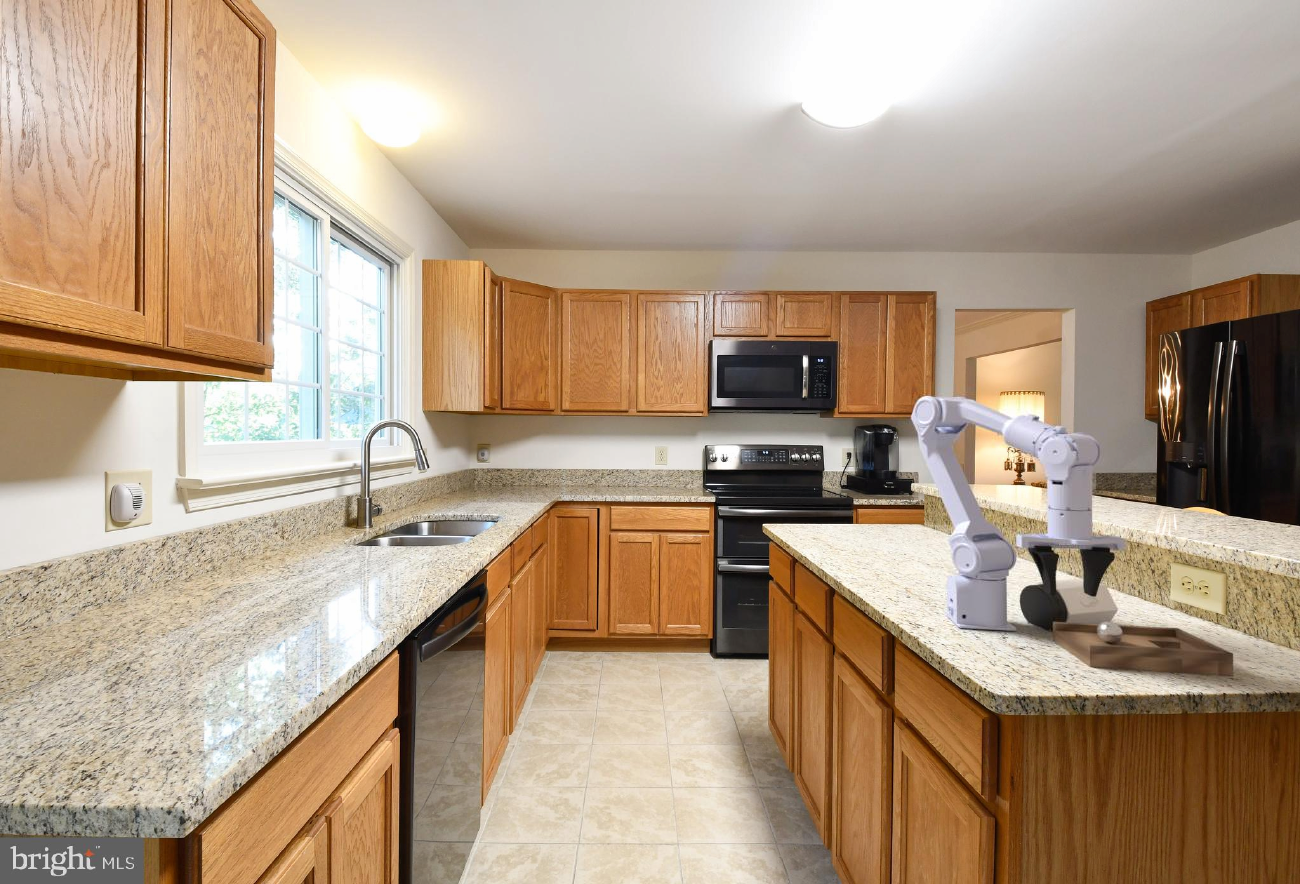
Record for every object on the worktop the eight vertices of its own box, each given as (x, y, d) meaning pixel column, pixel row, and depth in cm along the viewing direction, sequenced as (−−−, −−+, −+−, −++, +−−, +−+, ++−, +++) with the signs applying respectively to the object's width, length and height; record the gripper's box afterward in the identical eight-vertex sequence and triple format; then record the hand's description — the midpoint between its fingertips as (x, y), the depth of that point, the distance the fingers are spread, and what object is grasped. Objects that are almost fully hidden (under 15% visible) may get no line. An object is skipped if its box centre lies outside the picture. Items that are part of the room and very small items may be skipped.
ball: (1104, 645, 86) (1104, 625, 86) (1092, 638, 90) (1092, 618, 90) (1128, 647, 86) (1127, 626, 86) (1115, 639, 89) (1115, 619, 89)
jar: (1126, 622, 97) (1063, 628, 96) (1091, 631, 104) (1032, 637, 103) (1101, 571, 101) (1040, 577, 100) (1068, 584, 108) (1011, 589, 107)
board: (1090, 666, 83) (1089, 645, 83) (1052, 640, 94) (1052, 621, 94) (1233, 676, 80) (1233, 653, 80) (1177, 647, 90) (1177, 628, 90)
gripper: (1030, 511, 86) (1030, 598, 86) (1138, 512, 83) (1139, 603, 83) (1010, 505, 93) (1011, 587, 93) (1109, 507, 90) (1110, 590, 90)
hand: (1069, 594), depth 89 cm, fingers open, 5 cm apart
